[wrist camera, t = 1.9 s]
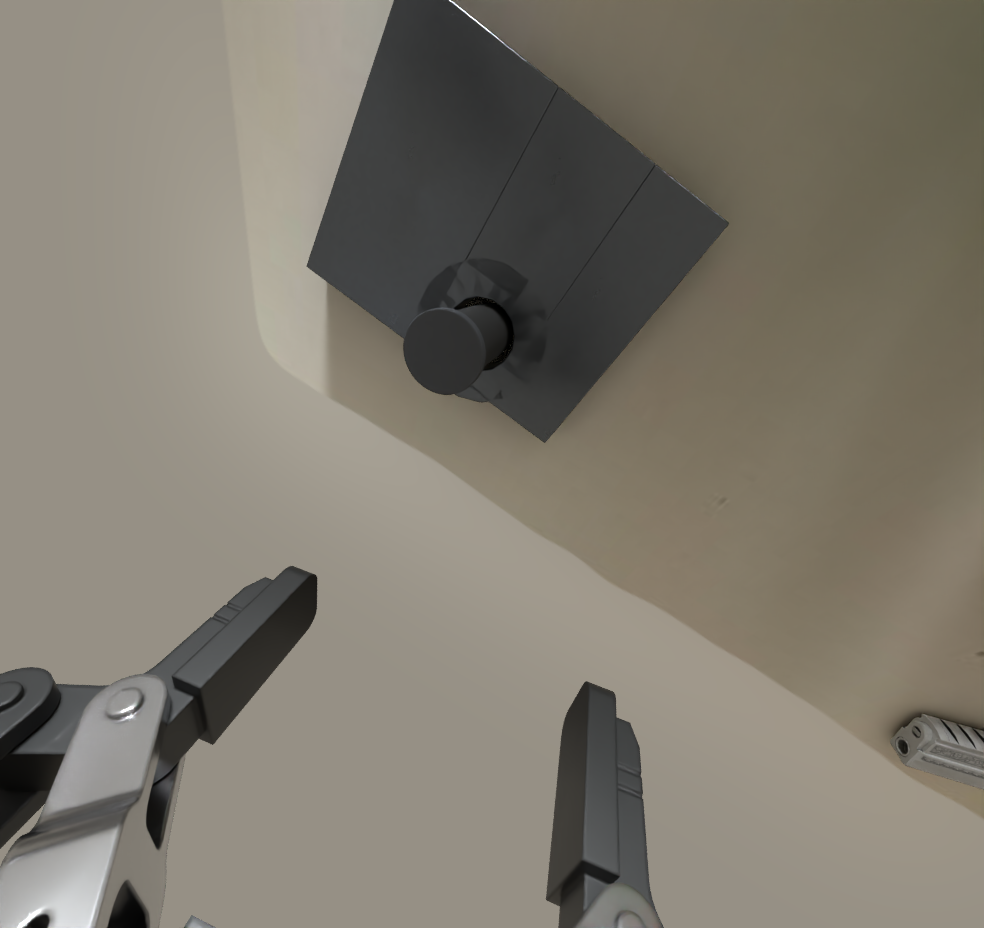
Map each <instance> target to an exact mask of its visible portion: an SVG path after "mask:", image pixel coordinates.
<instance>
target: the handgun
mask: <svg viewBox="0 0 984 928" xmlns="http://www.w3.org/2000/svg"><path fill="white" fill-rule="evenodd" d="M921 715H922V717H921V718H918V717H916V718H914V719H913V720H912V721H911V722H910V724H909V725H908V726H907V727H901V729H900V730H899V731H898V732H897V733H896V734H895V735H894V737H893V738H892V739H891V740H890V741H891V745H892V746H893V748H894V749H895V751H896V753H897V754H898V756H899V758H900V759H901V761H902V763H903V764H904V765H906V766H908V767H912V768H915V769H918V770H921V771H925V772H928V773H931V774H934V775H938V776H941V777H944V778H947V779H951V780H954V781H957V782H960V783H964V784H967V785H970V786H973V787H977V788H980V789H983V790H984V731H982V730H978V729H975V728H971V727H968V726H964V725H961V724H957V723H954V722H950V721H946V720H943V719H939V718H936V717H932V716H929V715H925V714H921Z"/></svg>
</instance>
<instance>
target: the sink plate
mask: <svg viewBox="0 0 984 928" xmlns="http://www.w3.org/2000/svg"><path fill="white" fill-rule="evenodd" d="M728 224H729V222H727V221H726V220H725V219H724V218H722V217H721V216H720V215H719V214H717V213H716V212H715V211H714V210H712V209H711V208H710V207H709V206H707V205H706V204H705V203H704V202H702V201H701V200H700V199H699V198H697V197H696V196H695V195H694V194H692V193H691V192H690V191H689V190H687V189H686V188H685V187H684V186H682V185H681V184H680V183H679V182H677V181H676V180H675V179H674V178H672V177H671V176H670V175H669V174H667V173H666V172H665V171H664V170H662V169H661V168H660V167H659V166H657V165H655V163H654V162H653V161H651V160H650V159H649V158H648V157H646V156H645V155H644V154H643V153H641V152H640V151H639V150H638V149H636V148H635V147H634V146H633V145H631V144H630V143H629V142H628V141H626V140H625V139H624V138H623V137H621V136H620V135H619V134H618V133H616V132H615V131H614V130H613V129H611V128H610V127H609V126H608V125H606V124H605V123H604V122H603V121H601V120H600V119H599V118H598V117H596V116H595V115H594V114H593V113H591V112H590V111H589V110H588V109H586V108H585V107H584V106H583V105H581V104H580V103H579V102H578V101H576V100H575V99H574V98H573V97H571V96H570V95H569V94H568V93H566V92H565V91H564V90H563V89H561V88H560V87H558V85H556V84H555V83H554V82H553V81H551V80H550V79H549V78H548V77H546V76H545V75H544V74H543V73H541V72H540V71H539V70H538V69H536V68H535V67H534V66H533V65H531V64H530V63H529V62H528V61H526V60H525V59H524V58H523V57H521V56H520V55H519V54H518V53H516V52H515V51H514V50H513V49H511V48H510V47H509V46H508V45H506V44H505V43H504V42H503V41H501V40H500V39H499V38H498V37H496V36H495V35H494V34H493V33H491V32H490V31H489V30H488V29H486V28H485V27H484V26H483V25H481V24H480V23H479V22H478V21H476V20H475V19H474V18H473V17H471V16H470V15H469V14H468V13H466V12H465V11H464V10H463V9H461V8H460V7H459V6H458V5H457V4H455V3H454V2H453V1H452V0H394V2H393V5H392V8H391V11H390V14H389V17H388V20H387V23H386V26H385V30H384V33H383V36H382V39H381V42H380V45H379V48H378V51H377V54H376V57H375V60H374V63H373V66H372V69H371V72H370V75H369V78H368V81H367V84H366V87H365V90H364V93H363V96H362V99H361V102H360V106H359V109H358V112H357V115H356V118H355V121H354V124H353V127H352V130H351V133H350V136H349V139H348V142H347V145H346V148H345V151H344V154H343V157H342V160H341V163H340V166H339V169H338V172H337V175H336V178H335V181H334V185H333V188H332V191H331V194H330V197H329V200H328V203H327V206H326V209H325V212H324V215H323V218H322V221H321V224H320V227H319V230H318V233H317V236H316V239H315V242H314V245H313V248H312V251H311V254H310V257H309V261H308V264H307V267H308V268H309V269H311V270H312V271H313V272H315V273H316V274H317V275H319V276H320V277H322V278H323V279H324V280H326V281H327V282H328V283H330V284H331V285H332V286H334V287H335V288H336V289H338V290H339V291H340V292H342V293H343V294H344V295H346V296H347V297H349V298H350V299H351V300H353V301H354V302H355V303H357V304H358V305H359V306H361V307H362V308H363V309H365V310H366V311H367V312H369V313H370V314H371V315H373V316H374V317H376V318H377V319H378V320H380V321H381V322H382V323H384V324H385V325H386V326H388V327H389V328H390V329H392V330H393V331H394V332H396V333H397V334H398V335H400V336H401V337H403V338H405V334H406V331H407V329H408V327H409V325H410V323H411V322H412V321H413V320H414V319H415V318H416V317H417V316H418V315H419V314H421V313H423V312H425V311H427V310H430V309H434V308H441V307H442V308H452V309H455V310H460V309H463V308H464V307H465V305H466V304H468V303H469V302H470V301H472V300H473V299H474V298H477V297H482V298H486V299H490V300H493V301H494V302H496V303H497V304H498V305H500V306H501V307H502V308H504V309H505V311H506V313H507V315H508V316H509V318H510V320H511V321H512V327H513V333H514V339H513V344H512V349H511V351H510V352H509V354H508V355H507V357H506V358H505V359H504V360H502V361H501V362H497V363H490V364H487V365H486V366H485V367H484V368H483V370H482V373H481V374H480V376H479V378H478V379H477V380H476V381H475V382H474V383H473V384H472V385H471V386H470V387H469V388H467V389H466V390H464V391H462V392H460V393H457V394H455V395H457V396H459V397H462V398H466V399H470V400H473V401H477V402H490V403H491V404H493V405H494V406H496V407H497V408H498V409H500V410H501V411H502V412H504V413H505V414H506V415H508V416H509V417H510V418H512V419H513V420H514V421H516V422H517V423H518V424H520V425H521V426H523V427H524V428H525V429H527V430H528V431H529V432H531V433H532V434H533V435H535V436H536V437H537V438H539V439H540V440H541V441H543V442H544V443H545V442H546V441H547V440H548V439H549V438H550V436H551V435H552V434H553V433H554V432H555V430H556V429H557V428H558V427H559V426H560V424H561V423H562V422H563V421H564V420H565V418H566V417H567V416H568V415H569V414H570V413H571V411H572V410H573V409H574V408H575V407H576V405H577V404H578V403H579V402H580V401H581V399H582V398H583V397H584V396H585V395H586V393H587V392H588V391H589V390H590V389H591V388H592V386H593V385H594V384H595V383H596V382H597V380H598V379H599V378H600V377H601V376H602V374H603V373H604V372H605V371H606V370H607V369H608V367H609V366H610V365H611V364H612V363H613V361H614V360H615V359H616V358H617V357H618V355H619V354H620V353H621V352H622V351H623V349H624V348H625V347H626V346H627V345H628V344H629V342H630V341H631V340H632V339H633V338H634V336H635V335H636V334H637V333H638V332H639V330H640V329H641V328H642V327H643V326H644V324H645V323H646V322H647V321H648V320H649V319H650V317H651V316H652V315H653V314H654V313H655V311H656V310H657V309H658V308H659V307H660V305H661V304H662V303H663V302H664V301H665V299H666V298H667V297H668V296H669V295H670V294H671V292H672V291H673V290H674V289H675V288H676V286H677V285H678V284H679V283H680V282H681V280H682V279H683V278H684V277H685V276H686V274H687V273H688V272H689V271H690V270H691V269H692V267H693V266H694V265H695V264H696V263H697V261H698V260H699V259H700V258H701V257H702V255H703V254H704V253H705V252H706V251H707V249H708V248H709V247H710V246H711V245H712V244H713V242H714V241H715V240H716V239H717V238H718V236H719V235H720V234H721V233H722V232H723V230H724V229H725V228H726V227H727V226H728Z"/></svg>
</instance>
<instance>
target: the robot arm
mask: <svg viewBox="0 0 984 928" xmlns="http://www.w3.org/2000/svg"><path fill="white" fill-rule="evenodd" d="M316 609H317V577H316V575H315V574H312V573H309V572H307V571H304V570H302V569H299V568H296V567H294V566H290V567H288V568H286V569H285V570H284V571H283V572H282V573H280V574H279V575H278V576H277V577H276V578H275V579H274V580H271V579H268V578H266V577H265V578H263V579H261V580H259V581H257V582H255V583H252V584H251V585H249V586H246V587H245V588H243V589H242V590H241V591H240V592H239V593H238V594H237V595H235V596H234V597H233V598H232V599H231V600H230V601H229V602H228V604H227V605H224V606H223V607H222V608H221V609H220V610H218V611H217V612H216V613H215V614H214V616H213V617H212V618H209V619H208V620H207V621H206V622H205V623H204V624H203V625H201V626H200V627H199V628H198V629H197V630H196V631H195V632H193V634H191V635H190V636H189V637H188V638H187V639H186V640H184V641H183V642H182V643H181V644H180V645H179V646H178V647H176V648H175V649H174V650H173V651H172V652H171V653H170V654H169V655H167V656H166V657H165V658H164V659H163V660H162V661H161V662H160V663H158V664H157V665H156V666H155V667H153V668H152V669H150V670H149V671H147V672H146V673H144V674H139V675H133V676H129V677H126V678H123V679H121V680H118V681H116V682H114V683H112V684H111V685H107V686H92V685H67V684H56V683H55V681H54V679H53V677H52V675H51V674H50V673H49V672H48V671H46V670H44V669H41V668H33V667H30V668H21V669H15V670H12V671H8V672H5V673H3V674H0V849H1V847H3V846H4V844H6V842H7V841H8V840H9V839H10V838H11V837H12V836H13V835H14V834H15V833H16V832H17V831H18V830H19V829H20V828H21V827H22V826H23V825H24V824H25V823H26V822H27V821H28V820H29V819H30V818H31V817H32V816H33V815H34V814H35V813H36V812H37V811H38V810H39V809H40V808H41V807H42V806H43V805H44V804H45V805H44V807H43V810H42V812H41V815H40V817H39V819H38V821H37V823H36V825H35V826H34V828H33V829H32V830H31V831H30V832H29V833H27V834H25V835H22V836H21V837H20V838H19V839H17V841H15V843H14V844H13V845H12V847H11V848H10V850H9V851H8V853H7V854H6V856H5V858H4V860H3V862H2V864H1V866H0V928H159V923H160V918H161V913H162V907H163V901H164V894H165V887H166V857H167V849H168V843H169V837H170V833H171V827H172V822H173V817H174V812H175V807H176V802H177V797H178V792H179V787H180V781H181V776H182V771H183V767H184V761H185V754H186V752H187V751H188V750H189V749H190V748H191V747H192V746H193V744H194V743H195V742H196V741H197V740H198V739H201V740H203V741H206V742H208V743H210V744H212V745H213V744H214V743H215V742H216V740H217V739H218V738H219V737H220V736H221V734H222V733H223V732H224V731H225V730H226V728H227V727H228V726H229V725H230V723H231V722H232V721H233V720H234V719H235V717H236V716H237V715H238V714H239V713H240V711H241V710H242V709H243V708H244V706H245V705H246V704H247V703H248V702H249V700H250V699H251V698H252V697H253V696H254V694H255V693H256V692H257V691H258V690H259V688H260V687H261V686H262V684H263V683H264V682H265V681H266V680H267V679H268V677H269V676H270V675H271V674H272V672H273V671H274V670H275V669H276V668H277V666H278V665H279V664H280V663H281V662H282V660H283V659H284V658H285V657H286V656H287V654H288V653H289V652H290V651H291V649H292V648H293V647H294V646H295V644H296V643H297V642H298V641H299V640H300V639H301V637H302V636H303V635H304V634H305V633H306V631H307V630H308V629H309V627H310V625H311V624H312V622H313V620H314V617H315V614H316ZM640 775H641V763H640V748H639V745H638V742H637V740H636V737H635V735H634V732H633V729H632V727H631V724H630V723H629V722H626V721H624V720H622V719H619V718H617V717H616V697H615V694H614V692H613V691H610V690H608V689H605V688H602V687H600V686H597V685H595V684H592V683H589V682H585V683H584V684H583V686H582V687H581V689H580V691H579V693H578V694H577V696H576V698H575V700H574V701H573V703H572V705H571V707H570V708H569V710H568V712H567V715H566V717H565V721H564V725H563V729H562V736H561V746H560V756H559V767H558V779H557V788H556V789H557V790H556V799H555V810H554V821H553V831H552V842H551V852H550V863H549V874H548V885H547V896H546V900H547V901H549V902H551V903H554V904H556V905H558V906H560V914H559V928H664V927H663V925H662V923H661V921H660V919H659V917H658V914H657V912H656V910H655V906H654V903H653V900H652V896H651V891H650V886H649V874H648V860H647V846H646V833H645V819H644V806H643V799H642V794H643V790H642V778H641V776H640ZM184 928H215V927H213V926H211V925H210V924H207V923H206V922H204V921H202V920H200V919H198V918H196V917H194V916H191V917H190V919H189V920H188V922H187V923H186V925H185V927H184Z"/></svg>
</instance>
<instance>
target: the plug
mask: <svg viewBox="0 0 984 928" xmlns="http://www.w3.org/2000/svg"><path fill="white" fill-rule="evenodd" d="M512 337H513V327H512V321H511V320H510V318H509V316H508V315H507V313H506V311H505V310H504V309H503V308H501V307H500V306H498V305H495V304H492V303H483V304H479V305H475V306H471V307H467V308H464V309H460V310H455V309H452V308H442V307H441V308H434V309H430V310H427V311H425V312H423V313H421V314H419V315H418V316H417V317H416V318H415V319H414V320H413V321H412V322H411V323H410V325H409V327H408V329H407V331H406V334H405V338H404V345H403V350H404V357H405V361H406V364H407V367H408V369H409V371H410V372H411V374H412V376H413V377H414V378H415V379H416V380H417V382H418V383H420V384H421V385H422V386H423V387H425V388H426V389H428V390H430V391H432V392H435V393H438V394H443V395H452V394H457V393H460V392H462V391H464V390H466V389H467V388H469V387H470V386H471V385H472V384H473V383H474V382H475V381H476V380H477V379H478V378H479V376H480V374H481V373H482V370H483V368H484V367H485V366H486V365H487V364H489V363H490V362H491V361H492V360H494V359H495V358H496V357H498V356H499V355H500V354H501V353H503V352H504V351H505V350H506V349H507V348H508V346H509V345H510V343H511V340H512Z"/></svg>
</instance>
